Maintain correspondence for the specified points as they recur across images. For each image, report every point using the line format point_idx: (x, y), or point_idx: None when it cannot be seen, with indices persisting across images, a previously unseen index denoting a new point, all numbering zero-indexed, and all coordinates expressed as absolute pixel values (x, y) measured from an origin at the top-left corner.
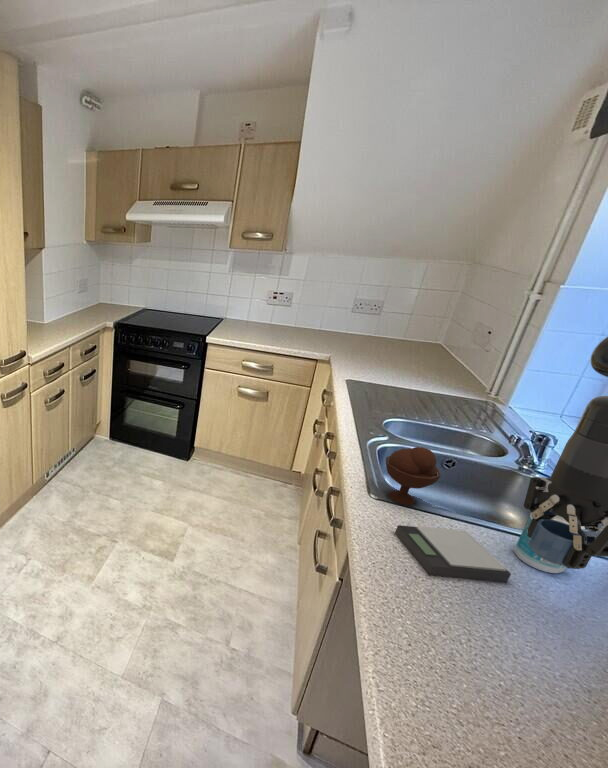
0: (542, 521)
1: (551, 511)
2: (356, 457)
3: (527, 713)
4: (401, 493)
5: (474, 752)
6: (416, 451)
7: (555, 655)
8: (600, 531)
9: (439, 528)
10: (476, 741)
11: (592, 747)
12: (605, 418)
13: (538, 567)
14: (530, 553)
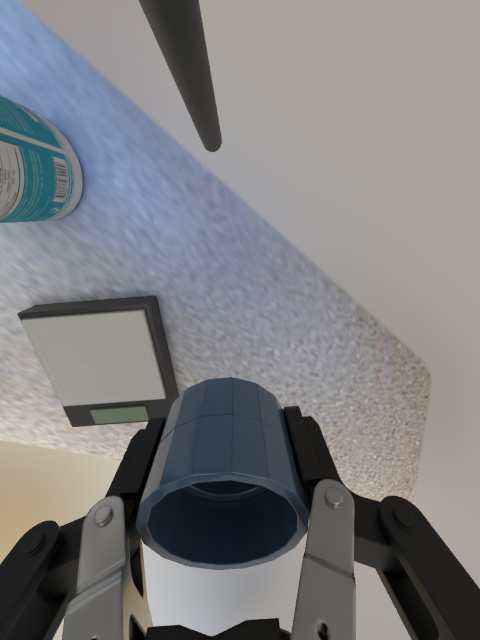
0: (169, 552)
1: (142, 634)
2: None
3: (385, 403)
4: None
5: (414, 460)
6: None
7: (308, 322)
8: (352, 623)
9: (45, 370)
10: (406, 455)
11: (422, 367)
12: None
13: (78, 200)
14: (47, 216)
